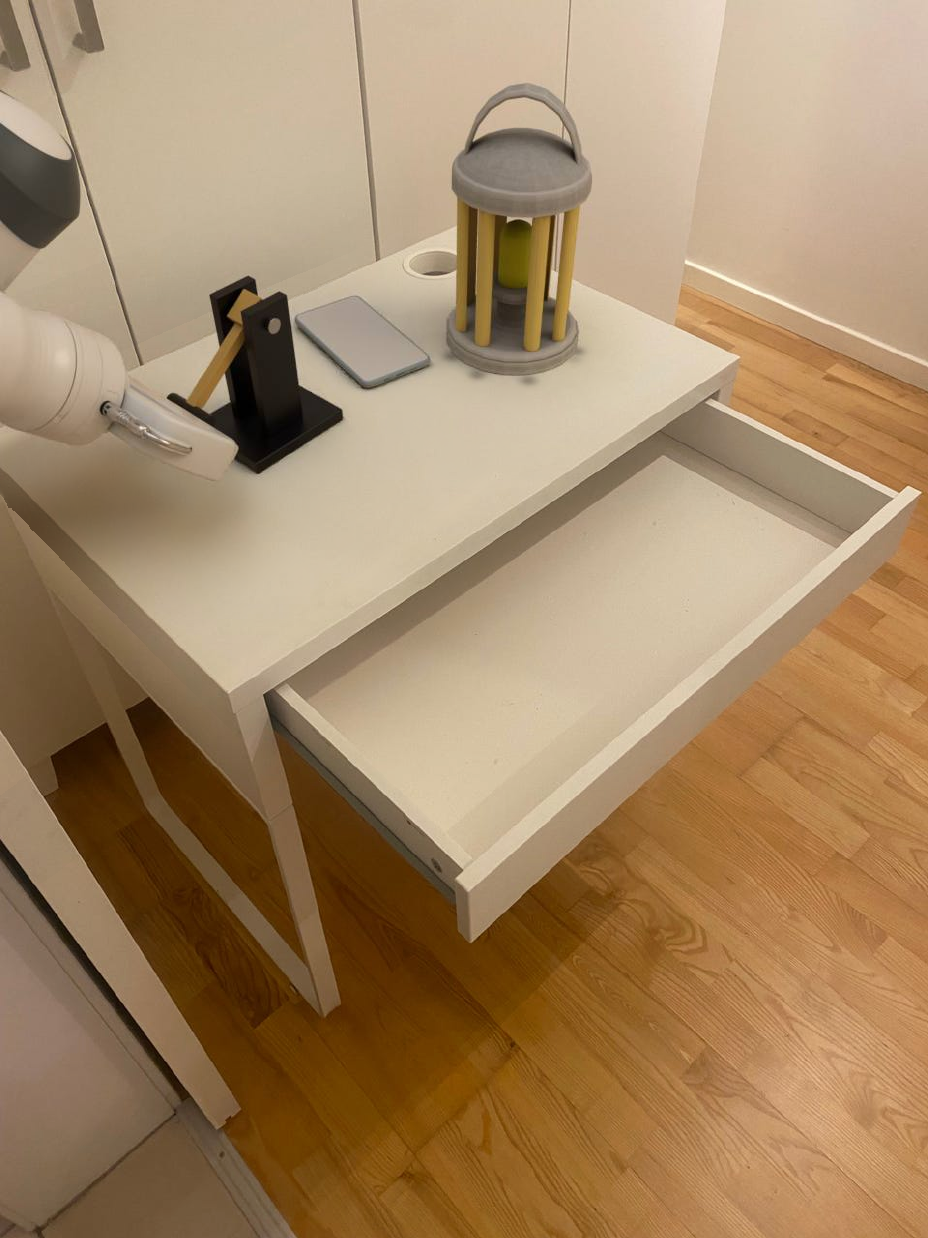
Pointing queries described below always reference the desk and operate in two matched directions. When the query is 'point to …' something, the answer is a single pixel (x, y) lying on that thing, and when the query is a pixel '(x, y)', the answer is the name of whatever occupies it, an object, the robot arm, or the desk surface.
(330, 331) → the smartphone
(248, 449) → the switch bracket
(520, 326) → the lantern
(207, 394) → the lever
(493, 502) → the desk surface
